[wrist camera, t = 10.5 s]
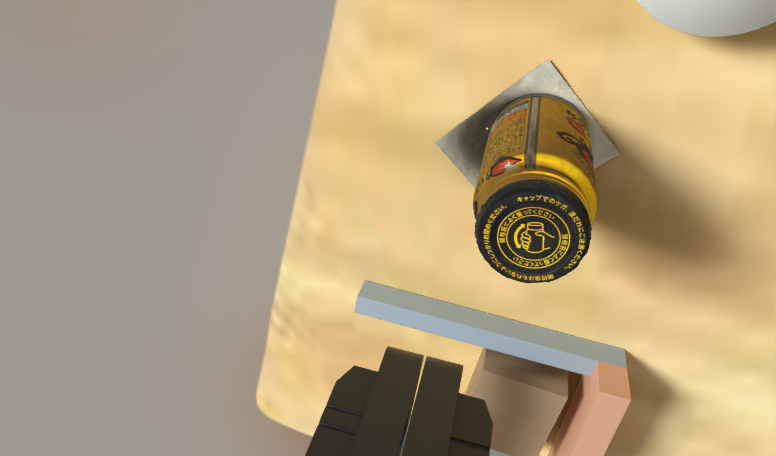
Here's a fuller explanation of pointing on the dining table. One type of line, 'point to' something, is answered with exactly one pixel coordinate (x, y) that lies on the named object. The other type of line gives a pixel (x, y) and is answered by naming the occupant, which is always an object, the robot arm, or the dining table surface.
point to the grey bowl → (712, 15)
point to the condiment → (532, 176)
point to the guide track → (591, 359)
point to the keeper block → (519, 400)
